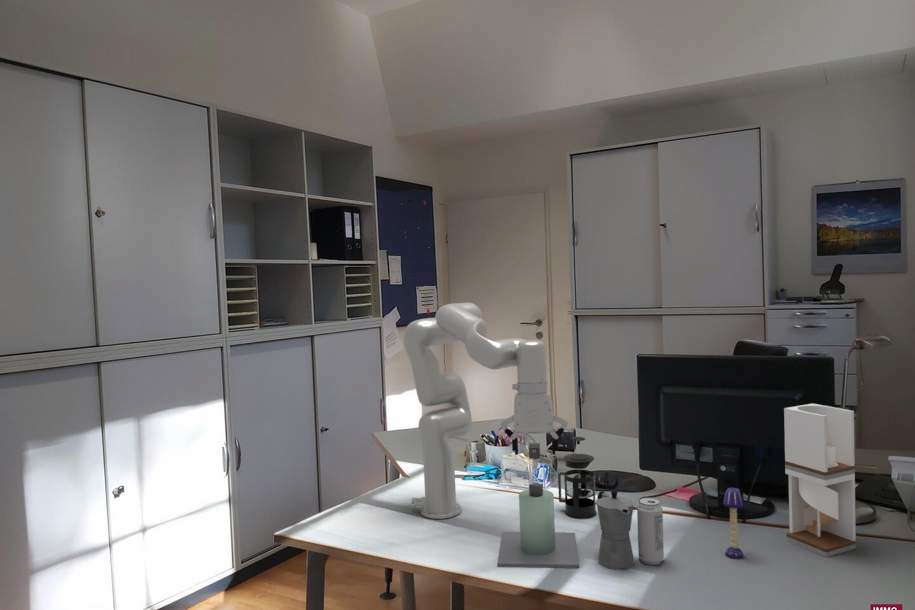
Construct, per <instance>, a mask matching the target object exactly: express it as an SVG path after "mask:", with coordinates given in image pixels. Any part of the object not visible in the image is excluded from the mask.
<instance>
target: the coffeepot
mask: <svg viewBox="0 0 915 610" xmlns="http://www.w3.org/2000/svg"><path fill="white" fill-rule="evenodd" d="M610 493H611V496H610V494H609V493H608V492H605V491H603V490H602V491H599V493H598V494H597V497H596V498H597V499H595V503H596V508H597V514H598V519H599V520H598V521H599V525H600V530H601V535H600V541H599V547H598V548H599V549H598V554H597V555H598V556H597V557H598V564H600V566H602V567H604V568H607V569H611V570H627V569H629V568H630V569H631V567H633V566H635V564H636V563H635V559H634V554H633V547H632V544H631V538H630V537H631V536H630V531H631V529H632V528H631V527H632V520H633V512H634V511H633V510H634V503H633V500H632V499H629V498H625V497H623V496H618V490H614V489H613V490H611V491H610Z"/></svg>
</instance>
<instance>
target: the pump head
mask: <svg viewBox="0 0 915 610" xmlns="http://www.w3.org/2000/svg"><path fill="white" fill-rule="evenodd" d="M528 459H530V460H531V459H532V469H534V470H537V469H538V459H541V443H540V442H534V443H533V442H529V443H528Z"/></svg>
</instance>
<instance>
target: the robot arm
mask: <svg viewBox="0 0 915 610" xmlns="http://www.w3.org/2000/svg"><path fill="white" fill-rule="evenodd" d="M487 334H488V324H487V322H486V321H485V320H484V319H483V313H482V311H481V309H480V307H479V306H477V304H475V303H472V302H456V303H455V302H454V303H447V304H444V305H442V306H440V307H439V308H438V309H437V311H436V312H435V317H427V318H420V319H416V320H413V321H411V322H410V323H409V324H407V326H406V328H405V330H404V333H403V345H404V348H405V353H406V354H407V355H406V356H407V357H408V359H409V363H410V365H411V369H412V370H411V371H412V376H413V381H414V385H415V391H416V395H417V398H418V399H417V400H418V402H419V403H420V404H421V405H422V406H424V407H436V406H440V405H445V404H446V407H445V408H440V409H436V410H431V411H428V412H425V413H424V414H422V416H421V417H420V419H419V420H418V431H419V432H418V433H419V436H420V441H421V447H422V458H423V459H422V460H423V463H422V464H423V479H424V481H423V482H424V484H423V485H424V496H422V497H421V498H419V497H411V504H412V505H413V506H414V507H421V508H420V514H421V515H422V516H423V517H425V518H428V519H433V520H434V519H435V520H437V519H438V520H442V519H450V518H454V517H456V516H458V515H459V514H461V512H462V505H460V504H459V503H457V493H456V492H457V491H456V490H457V489H456V470H455V469H456V467H455V454H454V451H453V449H452V447H451V446H450V444H449V442H448V441H449V440H452V439H455V438H459V437H462V436H465V435H467V434H468V433H470V431H471V430H472V425H473V419H472V418H473V416H472V413H471V407H470V403H469V398H468V394H467V388H466V385H465V382H464V380H463V379H462V377H461V376H460V375H459V374H458V373H456V372H453V371H451V372H441V371H442V370H441V368H440V363H439V359H438V357H437V356H436V354H435V353H434V352H433V350H431V349H430V348H429V347H430V346H438V345H439V346H440V345H446V344H448V345H449V344H453V343H456V342H458V341H460V342H461V343H463V344H464V347H465V350H466V352H467V355H468V356H469V358H470V359H472V360H473V361H475V362H476V363H477V364H479V365H481V366H482V367H484V368H486V369H489V370H501V369H507V368H512V367H513V368H514V367H516V371H517V374H516V375H517V382H516V383H514V384H512V385H511V386H512V387H511V388H512V390H515V391H516V392H515V395H514V402H513V415H511V416H509V417H507V418H505V419H504V420H502V421H501V422H500V426H501V427H502V428H501V429H502V430H503V431H504V434H506V435H507V436H508V437H509V438H510V440H511V446H512V447H511V448H512V450H511V451H512V452H514V456H518V455H519V438H518V435H520V434H550V436H551V449H552V450H551V452H552V455H553V456H554V455H556V451H559V449H558V439H559V438H560V437H561V435H563V434H564V432H565V429H566V428H567V426H568V420H566V419H564V418H562V417H560V416H558V415H556V414H555V413H554V408H553V401H552V395H551V393H550V392H548V380H547V379H548V378H547V376H548V375H547V354H546V350H547V349H546V344H545V343H544V342H543V341H541V340H537V339H533V340H528V339H524V338H520V337H518V338H517V337H515V338H514V337H513V338H503V339H497V340H491V339H489V338H487ZM512 422H513V427H514V430H513V431H512V430H511V428H509V427H508V426H509V425H510V424H511V423H512ZM555 422H557V423H558V424H560V426H559V428H558V429H557V430H556V429H555ZM508 424H509V425H508Z"/></svg>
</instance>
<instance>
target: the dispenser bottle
mask: <svg viewBox="0 0 915 610" xmlns="http://www.w3.org/2000/svg"><path fill="white" fill-rule="evenodd" d="M543 486H544V485H543V484H542V483H536V482H535V483H530V484H529V485H528V489H524V490H522V491H521V492H519V494H518V503H519V504H518V506H519V507H518V509H519V530H520V531H502V532H501V538H500V544H499V550H498V557H497V563H496V565H497V567H501V568H503V567H504V568H508V567H509V568H546V569H547V568H551V569H552V568H553V569H556V568H557V569H579V568H580V564H579V556H578V555H579V553H578V548H577V539H576V533H575V532H565V531H563V532H559V531H558V532H557V531H555V530H556V528H555V502H554V501H555V500H554V498H555V497H554V493H553V492H552V491H550V490H548V489H544V487H543Z"/></svg>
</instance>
